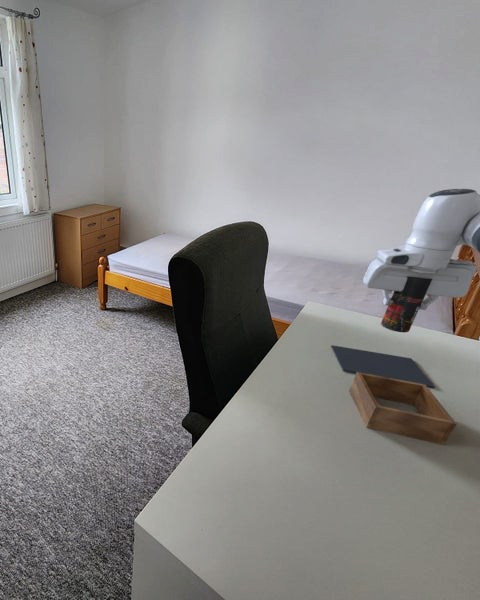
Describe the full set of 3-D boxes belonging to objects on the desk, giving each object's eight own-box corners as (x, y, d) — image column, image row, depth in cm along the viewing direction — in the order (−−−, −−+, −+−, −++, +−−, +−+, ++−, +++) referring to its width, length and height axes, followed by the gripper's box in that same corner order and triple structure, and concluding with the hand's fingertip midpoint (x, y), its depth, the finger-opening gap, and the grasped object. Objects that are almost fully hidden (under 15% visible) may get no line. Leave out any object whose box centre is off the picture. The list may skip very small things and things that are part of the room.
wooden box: (415, 404, 83) (425, 384, 81) (444, 445, 72) (457, 424, 69) (349, 390, 88) (356, 371, 86) (366, 427, 77) (375, 406, 74)
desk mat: (410, 359, 100) (411, 358, 100) (434, 388, 89) (435, 386, 88) (331, 346, 107) (331, 345, 107) (343, 371, 96) (343, 369, 95)
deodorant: (382, 319, 96) (402, 270, 90) (410, 326, 93) (433, 275, 86) (379, 327, 93) (400, 275, 86) (408, 334, 89) (432, 281, 83)
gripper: (472, 257, 83) (447, 308, 89) (371, 249, 90) (354, 296, 96) (488, 265, 78) (461, 318, 84) (379, 256, 85) (361, 305, 91)
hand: (403, 306), depth 90 cm, fingers closed on deodorant, 6 cm apart
